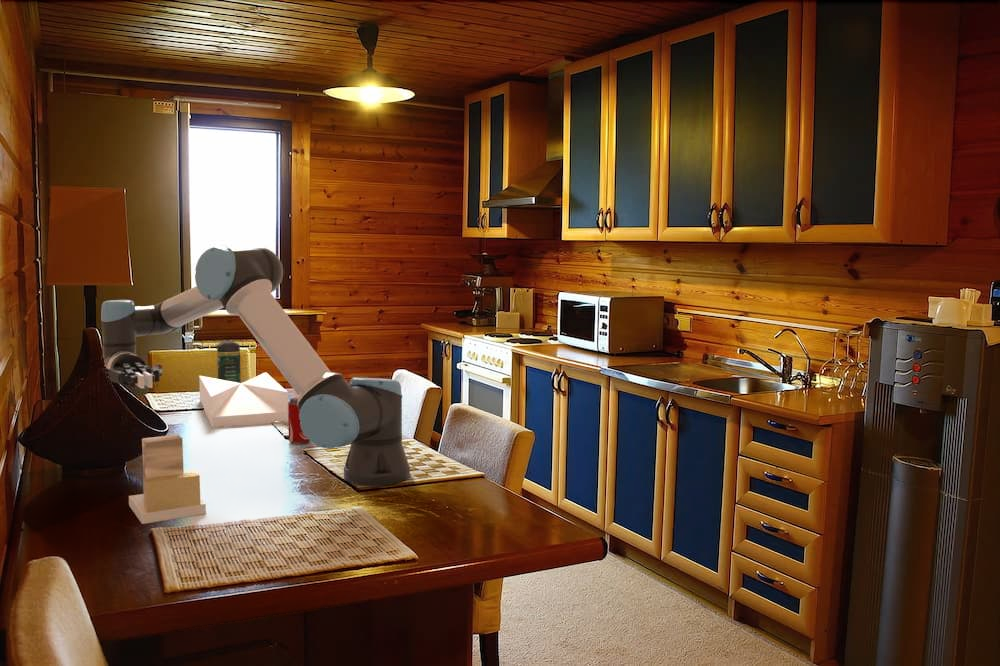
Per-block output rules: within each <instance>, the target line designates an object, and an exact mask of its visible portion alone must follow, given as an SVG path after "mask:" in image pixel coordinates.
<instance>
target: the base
mask: <svg viewBox="0 0 1000 666" xmlns="http://www.w3.org/2000/svg"><path fill="white" fill-rule="evenodd" d="M200 503H201V505H196V506H189V507H183V508H176V509H170V510H163V511H157V512H151V513H147V512H146V511H145V509H144V493H141V494H139V493H138V494H135V495H133V494H132V495H128V505H129V508H130V509H131V511H132V512H133V513H134V515H135V516H136V518H137V519H138V520H139V522H140V523H141V524H142V525H143V524H144V525H145V524H151V523H157V522H163V521H169V520H176V519H182V518H187V517H193V516H194V517H195V516H200V515H206V514H207V508H206V507H207V504H206V503H205V502H204V501H203V500H202V499H201V498H200Z"/></svg>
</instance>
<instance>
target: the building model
mask: <svg viewBox="0 0 1000 666" xmlns="http://www.w3.org/2000/svg"><path fill="white" fill-rule="evenodd" d="M198 379H199V380H198V382H199V402H200V401H201V403H202V405H203V407H202V408H204V409H203V411H204V413H205V415H206V418H207V420H208V421H209V424H210V426H211V428H220V427H221V426H224V427H232V425H237V426H246V425H247V426H248V425H249V426H250V425H259V424H272V422H275V421H288V402H289V392H288V391H287V390H286V389H285V388H284V387H283V386H282V385H281V384H280V383H279V382H277V380H276V379H274V378H273V377H272V376H271V375H270V374H269V373H268V372H262V373H261V374H259V375H256V376H254V377H253V378H250V379H248V380H246V381H244V382H241V383H237V382H232V381H226V380H221V379H218V378H215V377H210V376H205V375H204V376H203V375H198ZM201 403H200V404H201ZM202 405H201V406H202Z"/></svg>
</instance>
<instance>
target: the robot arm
mask: <svg viewBox="0 0 1000 666" xmlns="http://www.w3.org/2000/svg"><path fill="white" fill-rule="evenodd" d="M283 276H284V268H283V264H282V261H281V259H280V258H279V256H278V255H277V254H275V252H273V251H272V250H271V249H269V248H266V247H263V246H227V245H220V246H214V247H210V248H208V249H207V250H205V251H204V252H203V253H202V254H201V255H200V257H199V258H198V260H197V262H196V265H195V274H194V280H195V286H194V287H192V288H190V289H187V290H185V291H183V292H180V293H178V294H176V295H174V296H172V297H170V298H168V299H165V300H163V301H161V302H159V303H156V304H153V305H142V306H141V305H140V306H139V305H138V306H136V305H135V302H134V301H133V300H130V299H116V300H115V299H112V300H111V299H110V300H106V301H103V302H102V304H101V310H100V312H101V313H100V316H101V317H100V320H101V330H102V331H101V332H102V333H101V334H102V356H103V358H104V363H105V365H106V367H107V370H108V371H109V372H108V371H107V370H106V368H105V370H106V371H107V372H105V373H108V374H109V376H110V377H109V376H108V378H109V379H110V382H112V383H116V384H119V385H122V386H124V387H129V388H135V387H138V388H140V389H145V386H146V387H147V388H148V389H152V388H153V383H158V382H160V377H162V376H163V367H162V364H157V365H152V366H150V365H147V364H146V362H145V360H144V359H143V358H142V357H140V356H139V355H137V337H145V336H152V335H153V336H154V335H162V334H163V335H168V334H171V333H176V332H179V331H180V330H181V329H182V327H183V326H184V325H186V324H189V323H191V322H193V321H196V320H198V319H200V318H202V317H205V316H208V315H210V314H211V313H214V312H216V311H219V310H221V309H225V311H226V312H227V313H228V314H229V315H232V316H238V317H239V318H240V319H241V321H242V322H243V323H244V325H245V326H246V327H247V329H248V331H250V333H251V334H252V335H253V337H254V338H255V340H256V341H257V342H258V343H259V345H260V346H261V348H262V349H263V350H264V352H265V354H267V356H268V357H269V358H270V359H271V361H272V363H274V365H275V366H276V368H277V369H278V370H279V372H280V373H281V374H282V376H283V377H284V378H285V379H286V381H287V382H288V383H289V385H290V386H291V388H292V389H293V390H294V391H295V393H296V394H297V395H298V397H299V398H298V402H297V406H298V408H299V409H300V414H299V419H301V422H300V426H301V429H302V431H303V433H304V434H305V436H306V437H307V438H308V439H309V440H310V442H311V443H312V444H314V445H315V446H317V447H319V448H323V449H335V448H342V447H345V446H348V445H350V447H349V451H348V454H347V458H346V461H345V464H344V467H343V479H344V481H346V482H347V481H348V482H347V483H350V482H353V483H352V484H354V483H357V484H356V485H359V484H363V486H385V485H386V486H387V485H392V484H397V483H401V482H404V481H406V480H408V479H409V478H410V477H411V467H410V464H409V461H408V456H407V454H406V451H405V447H404V445H403V418H402V417H403V408H402V407H403V405H402V404H403V403H402V402H403V401H402V400H403V394H402V385H401V383H400V381H399V380H397V379H392V378H379V377H352V378H351V379H350V381H349V382H348V381H347V380H346V379H345V377H344V376H343V374H341V372H340V373H339V372H332V371H331V370H330V369H329V368H328V366H327V365H326V364H325V362H324V361H323V360H322V359H321V357H320V356H319V354H318V353H317V352H316V351H315V349H314V348H313V346H312V345H311V344H310V343H309V341H308V340H307V339H306V337H305V336H304V335H303V333H302V332H301V331H300V329H299V328H298V327H297V325H295V323H294V322H293V320H292V319H291V318H290V317H289V315H288V314H287V312H286V311H285V310H284V308H283V307H282V306H281V304H280V303H279V301H278V300H276V298H275V296H273V294H272V293H273V292H275V291H276V289H278V288H279V287H280V286H281V285H280V284H281V283H282V281H283ZM151 367H152V368H151ZM102 369H103V368H102ZM103 370H104V369H103ZM103 370H102V371H103Z"/></svg>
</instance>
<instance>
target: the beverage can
mask: <svg viewBox="0 0 1000 666" xmlns="http://www.w3.org/2000/svg"><path fill="white" fill-rule="evenodd" d="M298 398H299V397H291V398H290V399H289V400H288V442H289V443H290V444H291V445H308V444H309V443H310V442H311V441H310V440H309V439H308V438H307V437H306V436H305V434H304V433H303V431H302V429H301V426H300V422H301V419H299V414H300V409H299V408H298V406H297V402H298Z"/></svg>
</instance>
